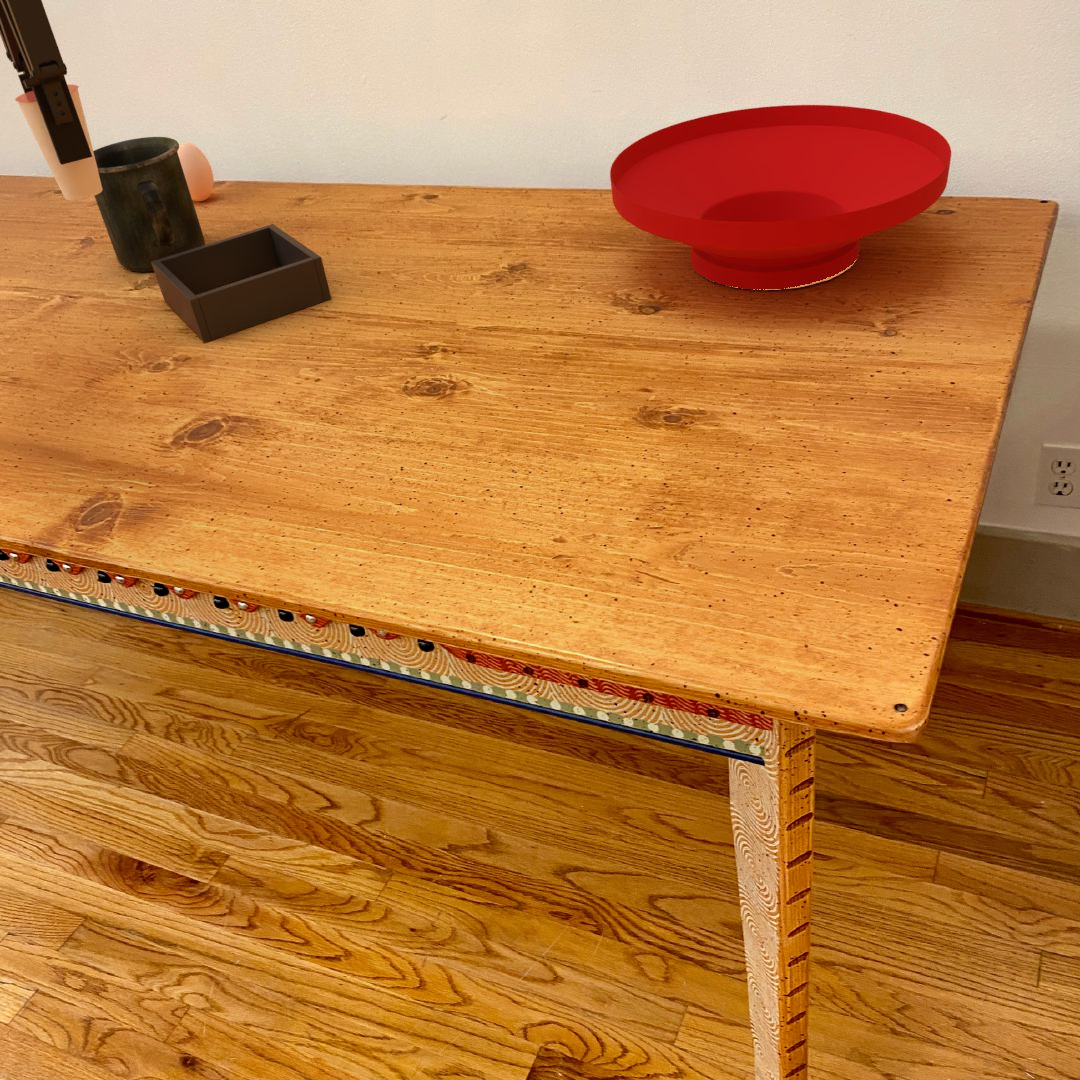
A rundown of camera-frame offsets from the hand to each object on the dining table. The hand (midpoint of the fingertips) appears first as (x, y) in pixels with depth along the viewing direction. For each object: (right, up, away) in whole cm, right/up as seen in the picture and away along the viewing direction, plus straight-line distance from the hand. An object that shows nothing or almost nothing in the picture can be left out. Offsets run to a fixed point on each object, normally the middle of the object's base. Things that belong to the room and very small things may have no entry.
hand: (68, 152), depth 98 cm
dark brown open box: (+12, -10, +15) cm, 22 cm away
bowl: (+65, -8, +8) cm, 66 cm away
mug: (-1, -3, +28) cm, 28 cm away
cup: (+1, -3, +2) cm, 4 cm away
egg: (-2, +9, +44) cm, 45 cm away
